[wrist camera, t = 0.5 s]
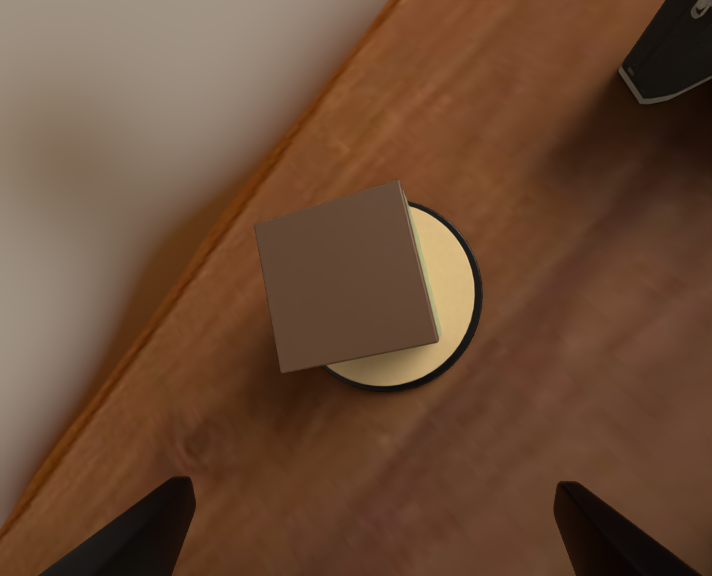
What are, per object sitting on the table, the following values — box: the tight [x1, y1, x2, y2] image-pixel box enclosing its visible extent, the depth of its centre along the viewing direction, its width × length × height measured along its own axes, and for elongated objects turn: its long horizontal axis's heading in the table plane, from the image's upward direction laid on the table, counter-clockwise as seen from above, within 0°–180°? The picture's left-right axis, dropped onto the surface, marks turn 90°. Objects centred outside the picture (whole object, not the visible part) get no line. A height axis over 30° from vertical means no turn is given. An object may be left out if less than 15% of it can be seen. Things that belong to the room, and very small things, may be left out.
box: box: [254, 180, 475, 386], centre depth 18 cm, size 11×11×8 cm
